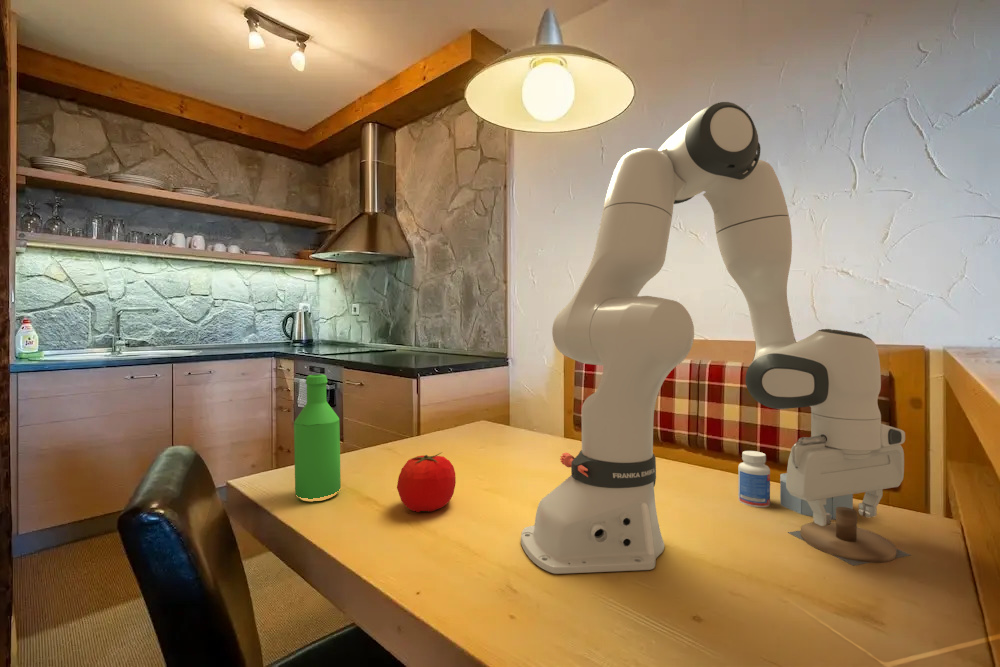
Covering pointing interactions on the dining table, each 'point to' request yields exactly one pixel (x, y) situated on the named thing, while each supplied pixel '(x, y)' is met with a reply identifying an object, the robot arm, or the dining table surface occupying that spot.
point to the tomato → (426, 483)
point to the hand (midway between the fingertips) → (845, 519)
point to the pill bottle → (754, 480)
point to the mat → (852, 562)
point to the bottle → (317, 444)
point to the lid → (848, 539)
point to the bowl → (803, 506)
